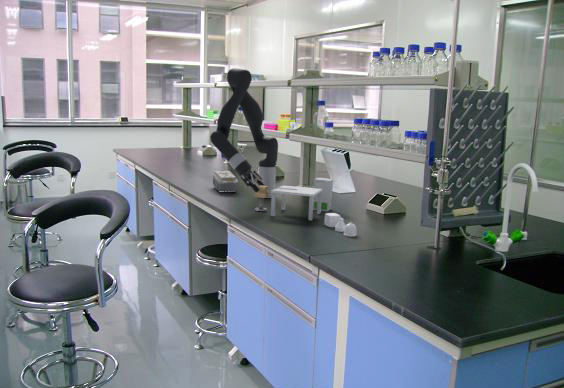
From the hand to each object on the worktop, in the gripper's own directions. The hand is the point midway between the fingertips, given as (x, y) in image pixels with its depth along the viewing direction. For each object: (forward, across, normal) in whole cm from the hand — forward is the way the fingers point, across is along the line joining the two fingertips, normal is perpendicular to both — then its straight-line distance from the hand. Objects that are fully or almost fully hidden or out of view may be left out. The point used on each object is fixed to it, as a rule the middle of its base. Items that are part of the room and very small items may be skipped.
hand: (261, 189), depth 243 cm
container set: (+39, -19, -24) cm, 49 cm away
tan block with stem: (+7, 0, +7) cm, 10 cm away
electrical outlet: (-21, +42, +35) cm, 58 cm away
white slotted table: (+20, 0, -6) cm, 21 cm away
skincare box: (+26, +17, -11) cm, 33 cm away
